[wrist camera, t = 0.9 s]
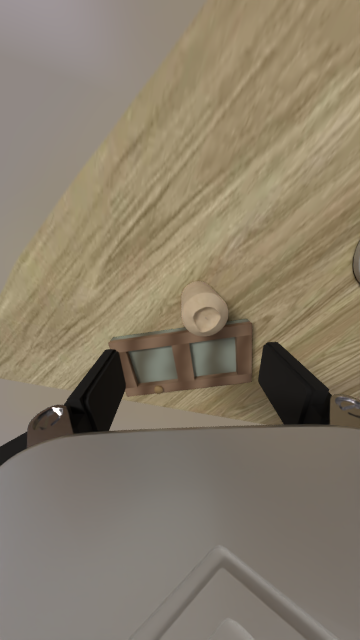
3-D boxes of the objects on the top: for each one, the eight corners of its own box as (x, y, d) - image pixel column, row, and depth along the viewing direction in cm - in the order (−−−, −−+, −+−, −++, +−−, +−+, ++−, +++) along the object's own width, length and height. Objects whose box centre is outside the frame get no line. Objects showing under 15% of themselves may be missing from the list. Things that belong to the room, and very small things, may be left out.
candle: (204, 318, 29) (215, 349, 20) (175, 305, 28) (173, 330, 19) (220, 289, 27) (242, 309, 18) (190, 274, 26) (196, 286, 17)
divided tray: (246, 318, 29) (253, 324, 26) (247, 374, 33) (252, 383, 31) (113, 337, 30) (107, 344, 28) (130, 388, 35) (126, 398, 32)
